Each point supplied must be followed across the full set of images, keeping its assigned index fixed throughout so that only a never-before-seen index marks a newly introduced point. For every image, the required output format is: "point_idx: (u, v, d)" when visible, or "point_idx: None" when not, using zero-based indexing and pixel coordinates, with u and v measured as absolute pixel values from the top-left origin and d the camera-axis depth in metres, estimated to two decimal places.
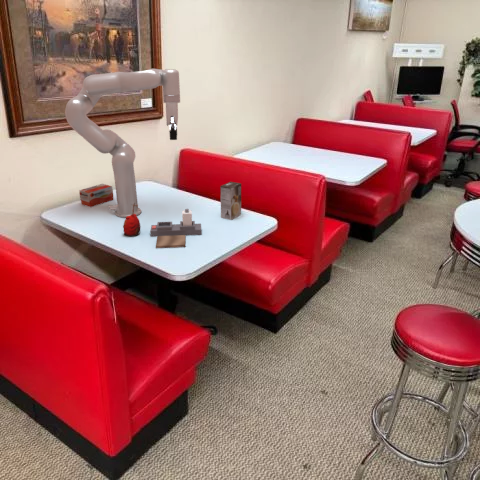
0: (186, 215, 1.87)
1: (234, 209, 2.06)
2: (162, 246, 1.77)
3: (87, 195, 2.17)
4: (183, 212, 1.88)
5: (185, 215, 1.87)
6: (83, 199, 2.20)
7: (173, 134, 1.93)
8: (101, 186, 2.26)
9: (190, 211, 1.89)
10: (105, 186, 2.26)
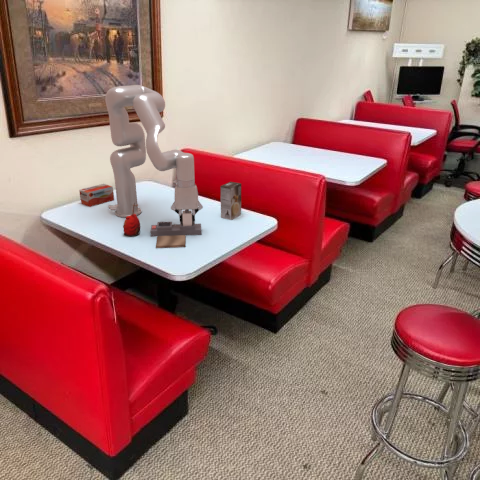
0: (186, 215, 1.87)
1: (234, 209, 2.06)
2: (162, 246, 1.77)
3: (86, 195, 2.18)
4: (183, 212, 1.88)
5: (185, 215, 1.87)
6: (83, 199, 2.21)
7: (194, 217, 1.90)
8: (102, 186, 2.26)
9: (190, 211, 1.89)
10: (105, 186, 2.26)
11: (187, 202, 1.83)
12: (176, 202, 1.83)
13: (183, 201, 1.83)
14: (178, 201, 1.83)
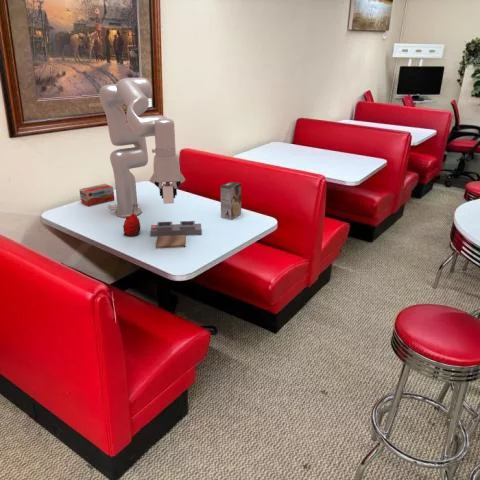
0: (167, 188, 1.70)
1: (234, 209, 2.06)
2: (162, 246, 1.77)
3: (85, 195, 2.18)
4: (163, 185, 1.71)
5: (165, 188, 1.70)
6: (83, 198, 2.22)
7: (176, 190, 1.73)
8: (102, 186, 2.26)
9: (171, 184, 1.72)
10: (106, 186, 2.26)
11: (167, 173, 1.67)
12: (155, 173, 1.66)
13: (163, 172, 1.66)
14: (157, 172, 1.66)
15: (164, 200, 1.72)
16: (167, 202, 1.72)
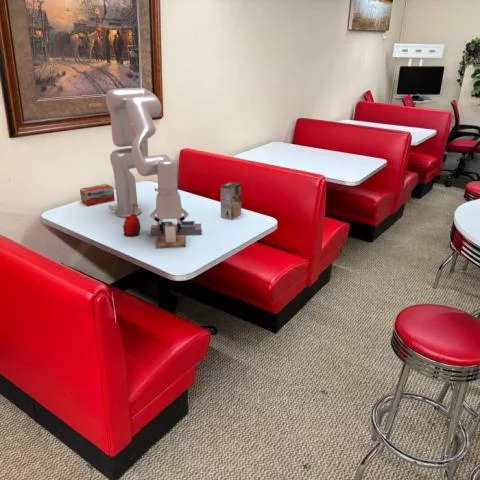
0: (169, 228, 1.77)
1: (234, 209, 2.06)
2: (162, 246, 1.77)
3: (85, 194, 2.19)
4: (166, 225, 1.78)
5: (168, 228, 1.77)
6: (82, 198, 2.22)
7: (180, 225, 1.79)
8: (102, 186, 2.26)
9: (173, 224, 1.79)
10: (106, 186, 2.26)
11: (169, 211, 1.73)
12: (158, 211, 1.73)
13: (165, 210, 1.73)
14: (160, 210, 1.73)
15: (166, 239, 1.79)
16: (169, 241, 1.79)
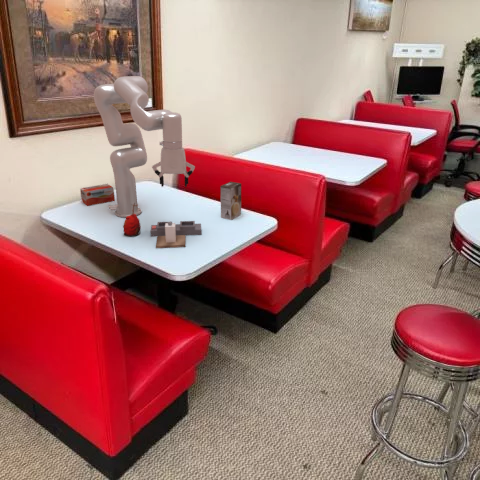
0: (169, 228, 1.77)
1: (234, 209, 2.06)
2: (162, 246, 1.77)
3: (84, 194, 2.19)
4: (166, 225, 1.78)
5: (168, 228, 1.77)
6: (82, 197, 2.23)
7: None
8: (103, 186, 2.26)
9: (173, 224, 1.79)
10: (106, 186, 2.26)
11: (174, 165, 1.74)
12: (162, 165, 1.73)
13: (169, 164, 1.73)
14: (164, 164, 1.73)
15: (166, 239, 1.79)
16: (169, 241, 1.79)
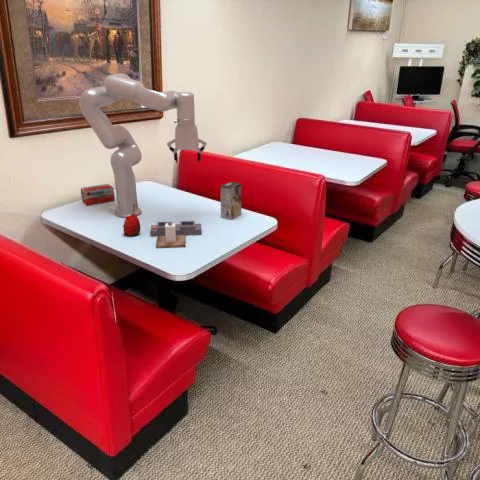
0: (169, 228, 1.77)
1: (234, 209, 2.06)
2: (162, 246, 1.77)
3: (84, 194, 2.19)
4: (166, 225, 1.78)
5: (168, 228, 1.77)
6: (82, 197, 2.23)
7: (200, 155, 1.93)
8: (103, 186, 2.26)
9: (173, 224, 1.79)
10: (106, 186, 2.25)
11: (187, 142, 1.87)
12: (176, 141, 1.86)
13: (183, 141, 1.86)
14: (178, 140, 1.86)
15: (166, 239, 1.79)
16: (169, 241, 1.79)
